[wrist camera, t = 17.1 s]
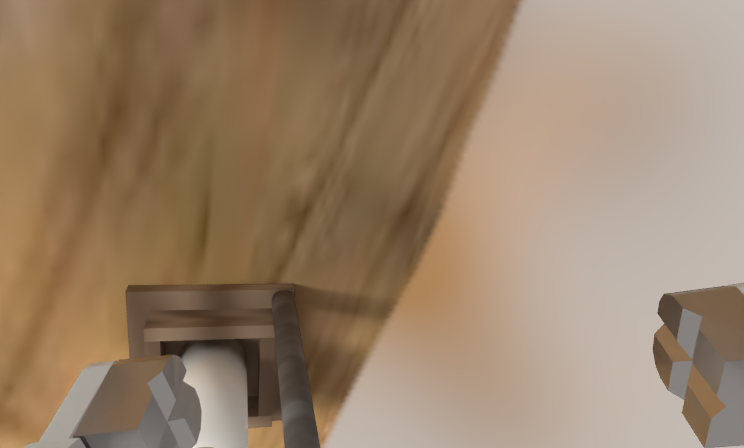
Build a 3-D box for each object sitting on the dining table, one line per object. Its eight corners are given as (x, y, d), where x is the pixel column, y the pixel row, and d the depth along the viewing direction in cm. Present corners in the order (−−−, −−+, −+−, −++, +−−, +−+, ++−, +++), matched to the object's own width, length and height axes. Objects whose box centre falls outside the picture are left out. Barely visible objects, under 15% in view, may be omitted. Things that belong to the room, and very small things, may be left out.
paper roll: (178, 392, 50) (158, 508, 38) (176, 334, 48) (154, 436, 36) (246, 388, 51) (248, 498, 39) (247, 331, 49) (249, 429, 37)
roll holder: (136, 421, 51) (59, 700, 30) (128, 285, 47) (30, 501, 26) (287, 411, 54) (313, 657, 33) (293, 283, 50) (328, 474, 29)
